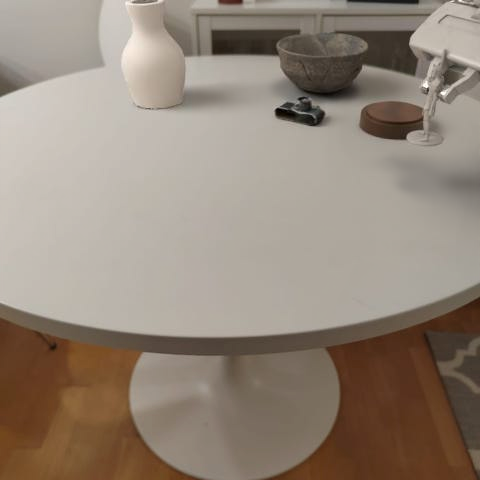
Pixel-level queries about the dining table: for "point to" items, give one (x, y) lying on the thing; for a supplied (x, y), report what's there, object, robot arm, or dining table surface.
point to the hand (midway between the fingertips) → (433, 96)
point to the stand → (391, 119)
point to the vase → (152, 58)
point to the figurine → (430, 110)
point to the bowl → (321, 60)
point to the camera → (300, 111)
